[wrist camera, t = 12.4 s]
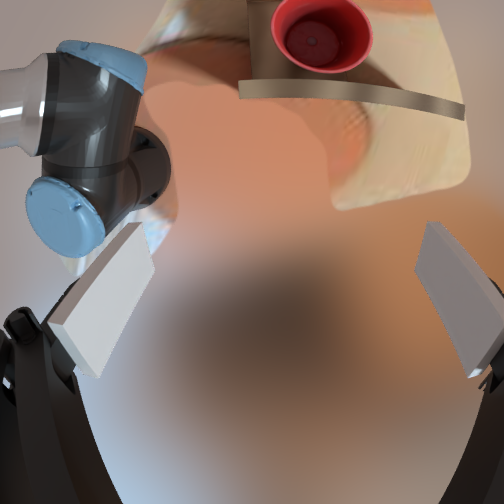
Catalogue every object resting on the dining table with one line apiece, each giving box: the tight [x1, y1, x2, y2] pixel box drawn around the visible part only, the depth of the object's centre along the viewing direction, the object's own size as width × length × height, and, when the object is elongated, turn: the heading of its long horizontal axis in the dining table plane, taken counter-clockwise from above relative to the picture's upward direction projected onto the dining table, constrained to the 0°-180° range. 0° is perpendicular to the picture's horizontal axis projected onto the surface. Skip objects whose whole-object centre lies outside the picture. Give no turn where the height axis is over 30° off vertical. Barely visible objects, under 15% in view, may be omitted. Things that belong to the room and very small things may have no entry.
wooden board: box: [238, 79, 465, 121], centre depth 30 cm, size 26×2×16 cm, turn 93°
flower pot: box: [270, 0, 373, 74], centre depth 25 cm, size 11×11×10 cm
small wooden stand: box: [247, 0, 347, 82], centre depth 31 cm, size 13×14×6 cm
